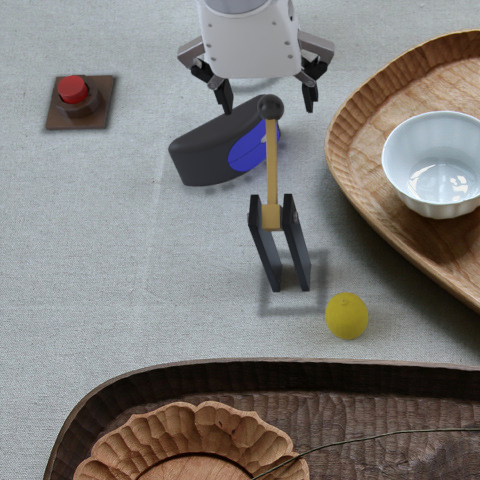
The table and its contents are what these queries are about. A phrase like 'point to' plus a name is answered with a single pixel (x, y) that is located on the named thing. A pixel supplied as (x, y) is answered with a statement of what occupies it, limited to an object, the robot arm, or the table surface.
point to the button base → (81, 106)
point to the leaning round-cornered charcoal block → (222, 147)
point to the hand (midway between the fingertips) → (270, 105)
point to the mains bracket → (268, 247)
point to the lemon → (346, 315)
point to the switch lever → (271, 161)
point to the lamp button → (72, 89)
